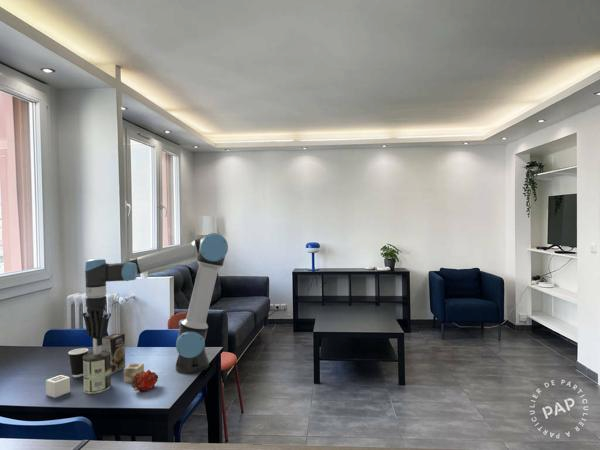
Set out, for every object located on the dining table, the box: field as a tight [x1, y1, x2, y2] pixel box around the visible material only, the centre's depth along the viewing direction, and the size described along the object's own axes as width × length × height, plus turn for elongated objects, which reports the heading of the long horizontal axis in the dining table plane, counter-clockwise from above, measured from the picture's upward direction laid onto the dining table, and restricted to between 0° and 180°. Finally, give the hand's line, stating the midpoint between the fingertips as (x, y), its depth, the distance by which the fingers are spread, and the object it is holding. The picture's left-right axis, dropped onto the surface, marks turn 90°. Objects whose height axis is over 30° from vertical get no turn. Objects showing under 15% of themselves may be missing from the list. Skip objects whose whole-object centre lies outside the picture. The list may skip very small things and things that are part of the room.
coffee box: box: [101, 333, 126, 375], centre depth 178 cm, size 9×6×16 cm
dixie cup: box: [68, 347, 89, 378], centre depth 173 cm, size 8×8×11 cm
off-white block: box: [45, 374, 71, 399], centre depth 154 cm, size 6×6×6 cm
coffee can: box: [83, 351, 112, 395], centre depth 158 cm, size 10×10×14 cm
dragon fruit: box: [131, 369, 159, 393], centre depth 157 cm, size 8×8×12 cm
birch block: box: [123, 362, 145, 383], centre depth 167 cm, size 6×6×6 cm
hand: (97, 353), depth 158 cm, fingers closed
